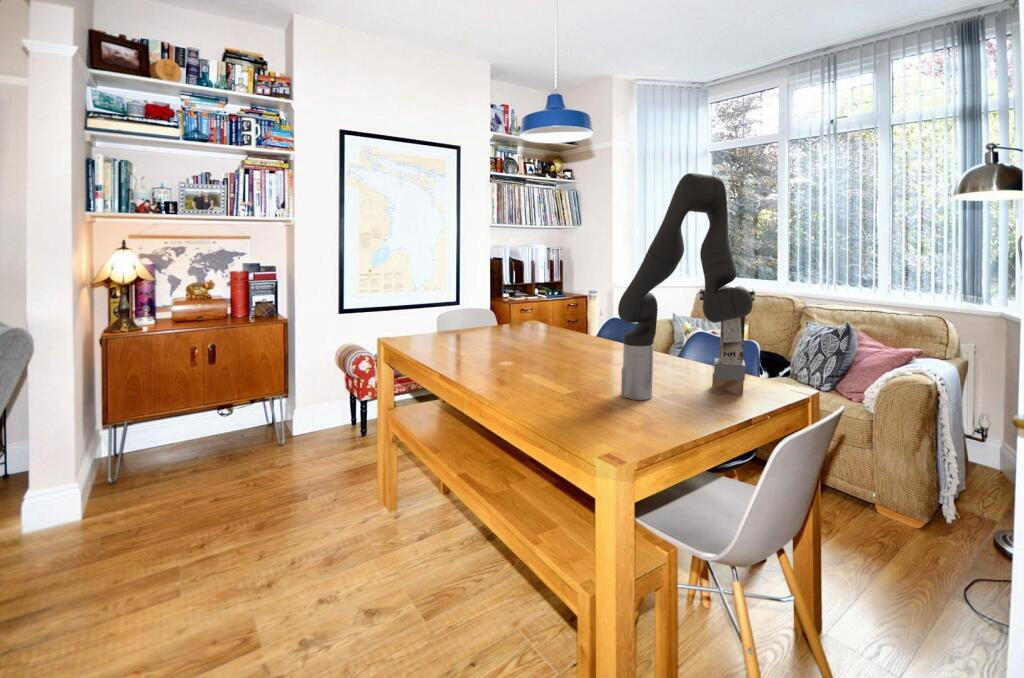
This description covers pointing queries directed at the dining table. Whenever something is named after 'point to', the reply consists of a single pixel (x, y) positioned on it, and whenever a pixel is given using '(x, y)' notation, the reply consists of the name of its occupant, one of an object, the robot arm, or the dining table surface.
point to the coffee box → (732, 341)
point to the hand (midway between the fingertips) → (726, 292)
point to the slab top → (729, 371)
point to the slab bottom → (727, 386)
